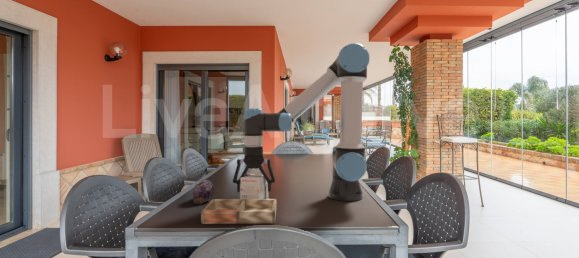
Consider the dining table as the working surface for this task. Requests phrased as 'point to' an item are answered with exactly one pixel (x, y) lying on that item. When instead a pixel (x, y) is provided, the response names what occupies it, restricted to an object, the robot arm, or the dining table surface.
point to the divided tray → (239, 211)
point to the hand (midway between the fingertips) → (254, 199)
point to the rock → (203, 191)
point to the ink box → (253, 186)
